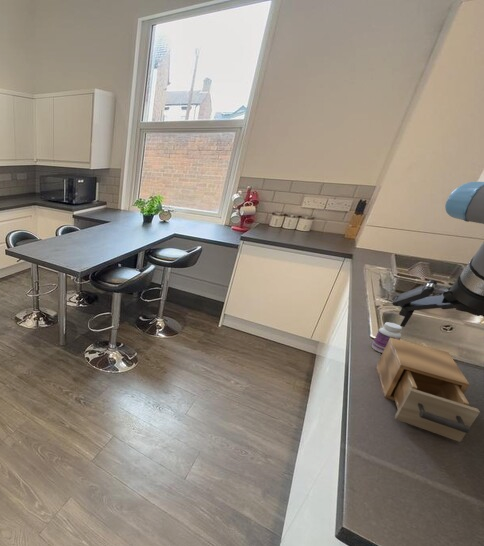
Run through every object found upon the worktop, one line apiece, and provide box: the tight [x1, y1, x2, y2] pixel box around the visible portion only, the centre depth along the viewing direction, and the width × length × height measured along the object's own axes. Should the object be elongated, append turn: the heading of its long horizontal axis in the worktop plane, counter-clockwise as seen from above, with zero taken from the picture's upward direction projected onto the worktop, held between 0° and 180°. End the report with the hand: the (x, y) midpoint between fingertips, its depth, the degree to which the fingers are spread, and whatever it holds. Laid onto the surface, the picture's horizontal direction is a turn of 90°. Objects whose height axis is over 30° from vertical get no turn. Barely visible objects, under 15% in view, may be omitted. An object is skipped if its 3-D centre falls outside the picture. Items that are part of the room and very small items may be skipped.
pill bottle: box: [371, 321, 403, 354], centre depth 102 cm, size 5×5×10 cm
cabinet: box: [375, 338, 471, 402], centre depth 84 cm, size 16×12×11 cm
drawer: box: [392, 369, 481, 443], centre depth 75 cm, size 19×11×9 cm, turn 144°
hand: (445, 335), depth 69 cm, fingers open, 13 cm apart
